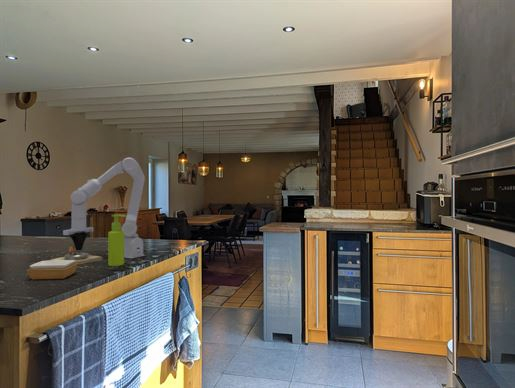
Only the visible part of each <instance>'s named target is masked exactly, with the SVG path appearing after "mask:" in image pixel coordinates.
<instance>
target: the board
mask: <svg viewBox="0 0 515 388" xmlns="http://www.w3.org/2000/svg"><path fill="white" fill-rule="evenodd" d="M64 257H65V256H63V257H62V256H61V257H57V258H51V259H50V260H75V263H78V265H82V264H87V263H92V262H93V263H94V262H96V261H97V262H98V261H103V256H100V255H92V254H91V255H90V254H89V257H87V258H83V259H65V258H64Z"/></svg>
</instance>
